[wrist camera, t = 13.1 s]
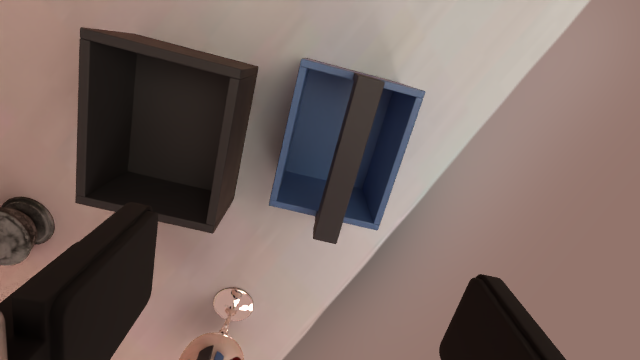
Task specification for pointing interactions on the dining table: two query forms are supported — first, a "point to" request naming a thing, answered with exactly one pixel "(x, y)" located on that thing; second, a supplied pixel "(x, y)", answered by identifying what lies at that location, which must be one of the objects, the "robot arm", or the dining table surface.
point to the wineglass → (222, 329)
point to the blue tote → (343, 146)
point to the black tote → (160, 127)
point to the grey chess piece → (22, 228)
